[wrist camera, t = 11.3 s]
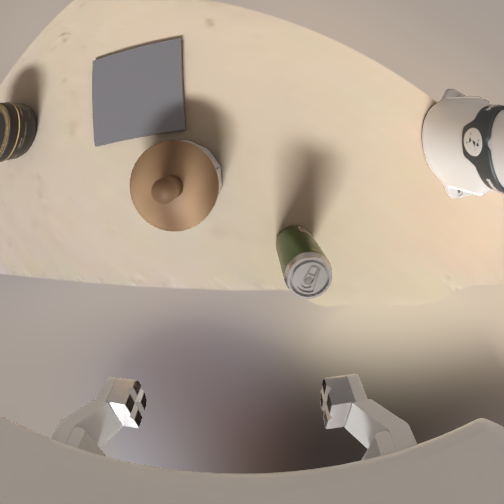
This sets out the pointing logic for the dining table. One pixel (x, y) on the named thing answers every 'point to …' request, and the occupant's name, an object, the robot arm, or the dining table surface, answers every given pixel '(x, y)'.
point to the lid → (174, 185)
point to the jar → (16, 130)
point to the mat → (138, 92)
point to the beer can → (303, 263)
